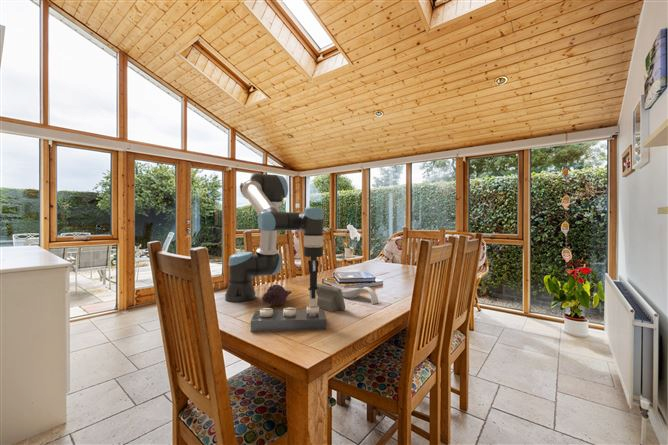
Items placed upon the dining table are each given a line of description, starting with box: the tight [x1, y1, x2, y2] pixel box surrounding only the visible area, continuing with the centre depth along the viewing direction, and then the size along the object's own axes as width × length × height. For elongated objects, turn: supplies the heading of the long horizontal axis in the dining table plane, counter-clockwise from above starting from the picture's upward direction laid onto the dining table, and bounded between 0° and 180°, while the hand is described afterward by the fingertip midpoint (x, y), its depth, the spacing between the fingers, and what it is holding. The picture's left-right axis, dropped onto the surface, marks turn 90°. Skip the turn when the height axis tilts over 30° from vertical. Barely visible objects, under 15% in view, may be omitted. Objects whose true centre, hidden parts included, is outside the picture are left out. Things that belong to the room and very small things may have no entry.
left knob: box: [259, 307, 274, 317], centre depth 119 cm, size 5×5×6 cm
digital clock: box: [316, 283, 346, 312], centre depth 144 cm, size 16×9×11 cm, turn 37°
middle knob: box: [282, 307, 297, 317], centre depth 120 cm, size 5×5×6 cm
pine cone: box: [261, 284, 292, 306], centre depth 146 cm, size 18×10×10 cm, turn 145°
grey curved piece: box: [340, 286, 379, 305], centre depth 161 cm, size 24×12×7 cm, turn 44°
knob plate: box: [250, 309, 328, 333], centre depth 120 cm, size 28×12×4 cm, turn 97°
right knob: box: [305, 305, 320, 316], centre depth 121 cm, size 5×5×6 cm
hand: (312, 305), depth 121 cm, fingers closed
